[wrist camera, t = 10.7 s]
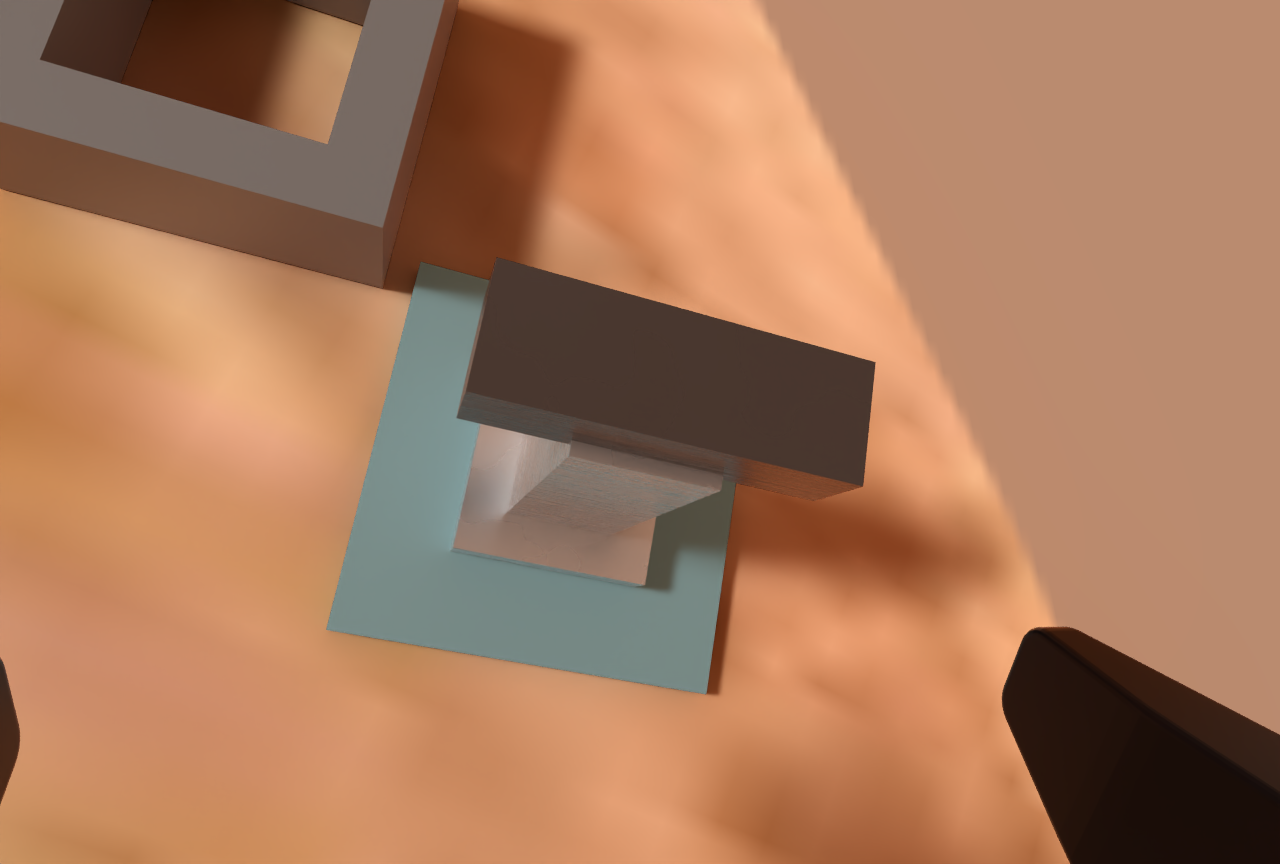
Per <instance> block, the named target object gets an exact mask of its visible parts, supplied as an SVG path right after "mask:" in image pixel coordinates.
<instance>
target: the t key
mask: <svg viewBox="0 0 1280 864" xmlns="http://www.w3.org/2000/svg"><path fill="white" fill-rule="evenodd" d="M874 372H875V362H872V361H869V360H865V359H862V358H858V357H854V356H851V355H847V354H844V353H840V352H836V351H833V350H829V349H826V348H822V347H818V346H815V345H811V344H808V343H804V342H800V341H797V340H793V339H790V338H786V337H782V336H779V335H775V334H772V333H768V332H764V331H761V330H757V329H753V328H750V327H746V326H743V325H739V324H735V323H732V322H728V321H725V320H721V319H717V318H714V317H710V316H707V315H703V314H699V313H696V312H692V311H689V310H685V309H681V308H678V307H674V306H671V305H667V304H663V303H660V302H656V301H653V300H649V299H645V298H642V297H638V296H635V295H631V294H627V293H624V292H620V291H617V290H613V289H609V288H606V287H602V286H598V285H595V284H591V283H588V282H584V281H580V280H577V279H573V278H570V277H566V276H562V275H559V274H555V273H552V272H548V271H544V270H541V269H537V268H534V267H530V266H526V265H523V264H519V263H516V262H512V261H508V260H505V259H501V258H498V257H497V258H496V261H495V264H494V267H493V271H492V274H491V277H490V280H489V284H488V287H487V290H486V293H485V296H484V300H483V304H482V309H481V313H480V317H479V322H478V326H477V330H476V335H475V339H474V343H473V348H472V352H471V356H470V361H469V365H468V369H467V374H466V378H465V382H464V386H463V391H462V395H461V399H460V404H459V408H458V412H457V417H456V418H457V419H462V420H466V421H470V422H475V423H478V428H477V432H476V436H475V441H474V445H473V450H472V454H471V459H470V463H469V468H468V472H467V477H466V481H465V485H464V490H463V494H462V499H461V503H460V508H459V512H458V517H457V521H456V526H455V530H454V535H453V539H452V543H451V548H450V551H452V552H457V553H462V554H467V555H472V556H477V557H482V558H487V559H493V560H498V561H503V562H508V563H513V564H518V565H523V566H528V567H533V568H539V569H544V570H549V571H554V572H559V573H564V574H569V575H574V576H579V577H584V578H590V579H595V580H600V581H605V582H610V583H615V584H620V585H625V586H630V587H637V586H643V585H645V582H646V576H647V570H648V563H649V557H650V551H651V545H652V539H653V533H654V527H655V521H656V517H657V516H659V515H662V514H664V513H667V512H669V511H672V510H674V509H677V508H679V507H682V506H684V505H687V504H689V503H692V502H694V501H697V500H699V499H702V498H704V497H706V496H709V495H711V494H714V493H716V492H719V491H721V487H722V480H725V481H729V482H734V483H738V484H742V485H747V486H751V487H755V488H760V489H764V490H768V491H773V492H777V493H781V494H786V495H790V496H794V497H799V498H803V499H807V500H811V501H815V500H818V499H822V498H825V497H829V496H832V495H835V494H839V493H842V492H846V491H849V490H853V489H856V488H859V487H863V482H864V472H865V462H866V452H867V442H868V432H869V422H870V412H871V402H872V392H873V382H874Z"/></svg>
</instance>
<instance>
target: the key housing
mask: <svg viewBox="0 0 1280 864" xmlns="http://www.w3.org/2000/svg"><path fill="white" fill-rule="evenodd" d="M151 1H152V0H0V189H4V190H8V191H12V192H15V193H19V194H23V195H27V196H31V197H35V198H38V199H42V200H46V201H50V202H54V203H57V204H61V205H65V206H69V207H73V208H77V209H80V210H84V211H88V212H92V213H96V214H100V215H103V216H107V217H111V218H115V219H119V220H122V221H126V222H130V223H134V224H138V225H142V226H145V227H149V228H153V229H157V230H161V231H165V232H168V233H172V234H176V235H180V236H184V237H187V238H191V239H195V240H199V241H203V242H207V243H210V244H214V245H218V246H222V247H226V248H230V249H233V250H237V251H241V252H245V253H249V254H252V255H256V256H260V257H264V258H268V259H272V260H275V261H279V262H283V263H287V264H291V265H295V266H298V267H302V268H306V269H310V270H314V271H317V272H321V273H325V274H329V275H333V276H337V277H340V278H344V279H348V280H352V281H356V282H360V283H363V284H367V285H371V286H375V287H379V288H383V285H384V281H385V277H386V273H387V270H388V266H389V262H390V258H391V255H392V251H393V247H394V243H395V240H396V236H397V232H398V228H399V225H400V221H401V217H402V213H403V210H404V206H405V202H406V198H407V195H408V191H409V187H410V183H411V180H412V176H413V172H414V168H415V165H416V161H417V157H418V153H419V150H420V146H421V142H422V138H423V135H424V131H425V127H426V123H427V120H428V116H429V112H430V109H431V105H432V101H433V97H434V94H435V90H436V86H437V82H438V79H439V75H440V71H441V67H442V64H443V60H444V56H445V52H446V49H447V45H448V41H449V37H450V34H451V30H452V26H453V22H454V19H455V15H456V11H457V7H458V0H287V1H290V2H293V3H296V4H299V5H302V6H305V7H308V8H311V9H314V10H318V11H321V12H324V13H327V14H330V15H333V16H336V17H339V18H342V19H345V20H348V21H351V22H354V23H357V24H360V25H363V28H362V32H361V35H360V39H359V42H358V45H357V49H356V52H355V55H354V59H353V62H352V65H351V69H350V72H349V75H348V79H347V82H346V85H345V89H344V92H343V95H342V99H341V102H340V105H339V109H338V112H337V115H336V119H335V122H334V125H333V129H332V132H331V135H330V139H329V142H328V145H327V144H324V143H321V142H317V141H314V140H311V139H307V138H304V137H300V136H297V135H294V134H290V133H287V132H283V131H280V130H277V129H273V128H270V127H266V126H263V125H260V124H256V123H253V122H249V121H246V120H243V119H239V118H236V117H233V116H229V115H226V114H222V113H219V112H216V111H212V110H209V109H205V108H202V107H199V106H195V105H192V104H188V103H185V102H182V101H178V100H175V99H171V98H168V97H165V96H161V95H158V94H155V93H151V92H148V91H144V90H141V89H138V88H134V87H131V86H127V85H124V84H121V80H122V78H123V75H124V73H125V70H126V67H127V65H128V62H129V59H130V57H131V54H132V51H133V49H134V46H135V44H136V41H137V38H138V36H139V33H140V30H141V28H142V25H143V23H144V20H145V17H146V15H147V12H148V9H149V7H150V4H151Z"/></svg>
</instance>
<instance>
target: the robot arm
mask: <svg viewBox="0 0 1280 864" xmlns="http://www.w3.org/2000/svg"><path fill="white" fill-rule="evenodd" d="M1002 707H1003V711H1004V715H1005V718H1006V720H1007V722H1008V725H1009V727H1010V729H1011V732H1012V734H1013V736H1014V738H1015V741H1016V743H1017V745H1018V748H1019V750H1020V752H1021V754H1022V757H1023V759H1024V761H1025V764H1026V766H1027V768H1028V770H1029V773H1030V775H1031V777H1032V780H1033V782H1034V784H1035V786H1036V789H1037V791H1038V793H1039V795H1040V798H1041V800H1042V802H1043V805H1044V807H1045V809H1046V811H1047V814H1048V816H1049V818H1050V821H1051V823H1052V825H1053V827H1054V830H1055V832H1056V834H1057V837H1058V839H1059V841H1060V843H1061V845H1062V847H1063V849H1064V852H1065V854H1066V856H1067V858H1068V860H1069V862H1070V864H1280V735H1279V734H1277V733H1275V732H1273V731H1271V730H1269V729H1267V728H1265V727H1264V726H1262V725H1259V724H1258V723H1256V722H1254V721H1252V720H1250V719H1248V718H1246V717H1244V716H1243V715H1240V714H1238V713H1237V712H1235V711H1233V710H1231V709H1229V708H1227V707H1225V706H1223V705H1221V704H1219V703H1217V702H1216V701H1214V700H1212V699H1210V698H1208V697H1206V696H1204V695H1202V694H1200V693H1198V692H1196V691H1194V690H1192V689H1190V688H1188V687H1186V686H1185V685H1183V684H1181V683H1179V682H1177V681H1175V680H1173V679H1171V678H1169V677H1167V676H1165V675H1164V674H1162V673H1160V672H1158V671H1156V670H1154V669H1152V668H1150V667H1148V666H1146V665H1144V664H1142V663H1140V662H1138V661H1137V660H1135V659H1133V658H1131V657H1129V656H1127V655H1125V654H1123V653H1121V652H1119V651H1117V650H1115V649H1113V648H1112V647H1110V646H1108V645H1106V644H1103V643H1102V642H1100V641H1098V640H1096V639H1094V638H1092V637H1090V636H1088V635H1086V634H1085V633H1083V632H1081V631H1079V630H1076V629H1074V628H1070V627H1038V628H1034V629H1031V630H1030V631H1029V632H1028V633H1027V634H1026V635H1025V636H1024V638H1023V639H1022V642H1021V644H1020V647H1019V649H1018V652H1017V655H1016V657H1015V660H1014V662H1013V665H1012V667H1011V670H1010V672H1009V675H1008V678H1007V680H1006V683H1005V685H1004V688H1003V692H1002ZM19 745H20V729H19V724H18V720H17V715H16V711H15V707H14V703H13V699H12V695H11V691H10V687H9V683H8V678H7V674H6V670H5V666H4V664H3V661H2V659H1V658H0V804H1V801H2V799H3V796H4V793H5V790H6V788H7V785H8V782H9V779H10V777H11V774H12V771H13V769H14V766H15V763H16V760H17V756H18V752H19Z"/></svg>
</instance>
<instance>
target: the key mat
mask: <svg viewBox="0 0 1280 864" xmlns="http://www.w3.org/2000/svg"><path fill="white" fill-rule="evenodd" d="M488 284H489V280H487V279H483V278H479V277H476V276H472V275H468V274H465V273H461V272H457V271H453V270H450V269H446V268H442V267H439V266H435V265H431V264H428V263H424V262H420V266H419V270H418V274H417V278H416V282H415V286H414V289H413V293H412V297H411V301H410V305H409V309H408V313H407V317H406V321H405V325H404V328H403V332H402V336H401V340H400V344H399V348H398V352H397V356H396V360H395V364H394V367H393V371H392V375H391V379H390V383H389V387H388V391H387V395H386V399H385V403H384V406H383V410H382V414H381V418H380V422H379V426H378V430H377V434H376V438H375V442H374V445H373V449H372V453H371V457H370V461H369V465H368V469H367V473H366V477H365V481H364V484H363V488H362V492H361V496H360V500H359V504H358V508H357V512H356V516H355V520H354V523H353V527H352V531H351V535H350V539H349V543H348V547H347V551H346V555H345V559H344V562H343V566H342V570H341V574H340V578H339V582H338V586H337V590H336V594H335V598H334V601H333V605H332V609H331V613H330V617H329V621H328V625H327V629H326V630H330V631H336V632H342V633H348V634H354V635H360V636H366V637H372V638H377V639H383V640H389V641H395V642H401V643H407V644H413V645H419V646H425V647H430V648H436V649H442V650H448V651H454V652H460V653H466V654H472V655H477V656H483V657H489V658H495V659H501V660H507V661H513V662H519V663H525V664H530V665H536V666H542V667H548V668H554V669H560V670H566V671H572V672H578V673H583V674H589V675H595V676H601V677H607V678H613V679H619V680H625V681H631V682H636V683H642V684H648V685H654V686H660V687H666V688H672V689H678V690H684V691H689V692H695V693H701V694H706V693H707V686H708V679H709V672H710V665H711V658H712V650H713V643H714V636H715V629H716V622H717V615H718V608H719V601H720V593H721V586H722V579H723V572H724V565H725V558H726V551H727V544H728V536H729V529H730V522H731V515H732V508H733V501H734V494H735V487H736V483H734V482H729V481H725V480H722V487H721V491H719V492H716V493H714V494H711V495H709V496H706V497H704V498H702V499H699V500H697V501H694V502H692V503H689V504H687V505H684V506H682V507H679V508H677V509H674V510H672V511H669V512H667V513H664V514H662V515H659V516H657V517H656V521H655V527H654V533H653V539H652V545H651V551H650V557H649V563H648V570H647V576H646V582H645V585H643V586H637V587H630V586H625V585H620V584H615V583H610V582H605V581H600V580H595V579H590V578H584V577H579V576H574V575H569V574H564V573H559V572H554V571H549V570H544V569H539V568H533V567H528V566H523V565H518V564H513V563H508V562H503V561H498V560H493V559H487V558H482V557H477V556H472V555H467V554H462V553H457V552H452V551H450V548H451V543H452V539H453V535H454V530H455V526H456V521H457V517H458V512H459V508H460V503H461V499H462V494H463V490H464V485H465V481H466V477H467V472H468V468H469V463H470V459H471V454H472V450H473V445H474V441H475V436H476V432H477V428H478V423H475V422H470V421H466V420H462V419H457V418H456V417H457V412H458V408H459V404H460V399H461V395H462V391H463V386H464V382H465V378H466V374H467V369H468V365H469V361H470V356H471V352H472V348H473V343H474V339H475V335H476V330H477V326H478V322H479V317H480V313H481V309H482V304H483V300H484V296H485V293H486V290H487V287H488Z"/></svg>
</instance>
